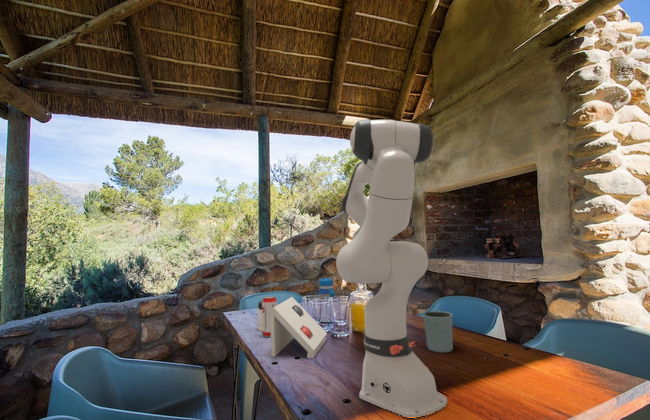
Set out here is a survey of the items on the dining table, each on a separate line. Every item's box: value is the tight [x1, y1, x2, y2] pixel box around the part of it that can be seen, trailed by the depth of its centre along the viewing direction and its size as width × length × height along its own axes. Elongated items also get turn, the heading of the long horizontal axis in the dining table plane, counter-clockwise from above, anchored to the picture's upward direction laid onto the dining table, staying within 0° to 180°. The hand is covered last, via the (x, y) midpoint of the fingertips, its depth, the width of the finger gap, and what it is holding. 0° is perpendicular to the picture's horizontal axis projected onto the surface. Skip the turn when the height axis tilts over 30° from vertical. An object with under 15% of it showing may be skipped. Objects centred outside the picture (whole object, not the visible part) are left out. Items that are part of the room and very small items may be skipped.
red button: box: [300, 326, 312, 338], centre depth 122 cm, size 5×4×5 cm
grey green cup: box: [422, 310, 454, 353], centre depth 121 cm, size 10×10×12 cm
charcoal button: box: [293, 306, 303, 316], centre depth 131 cm, size 5×4×5 cm
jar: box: [256, 300, 263, 333], centre depth 153 cm, size 9×8×12 cm
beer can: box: [262, 295, 278, 338], centre depth 143 cm, size 6×6×16 cm
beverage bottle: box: [317, 278, 336, 299], centre depth 163 cm, size 8×8×20 cm
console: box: [270, 296, 328, 359], centre depth 126 cm, size 16×20×17 cm
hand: (340, 265), depth 134 cm, fingers closed
